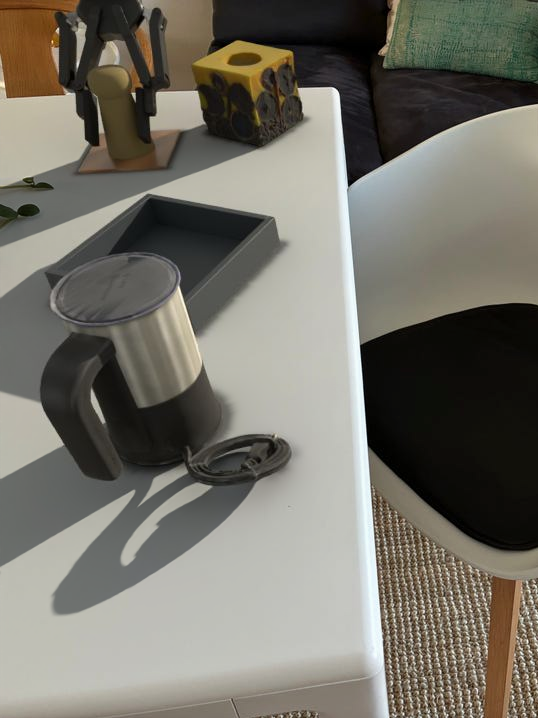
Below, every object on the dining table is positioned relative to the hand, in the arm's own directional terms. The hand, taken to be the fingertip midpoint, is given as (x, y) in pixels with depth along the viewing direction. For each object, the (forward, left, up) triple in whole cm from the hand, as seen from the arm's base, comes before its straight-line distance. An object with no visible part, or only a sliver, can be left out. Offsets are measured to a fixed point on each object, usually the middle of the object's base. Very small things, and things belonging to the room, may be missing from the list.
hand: (118, 141), depth 101 cm
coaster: (0, +4, -3) cm, 5 cm away
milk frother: (+18, -52, -3) cm, 56 cm away
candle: (+16, +10, -3) cm, 19 cm away
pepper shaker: (0, +4, -3) cm, 5 cm away
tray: (+11, -26, -3) cm, 29 cm away
